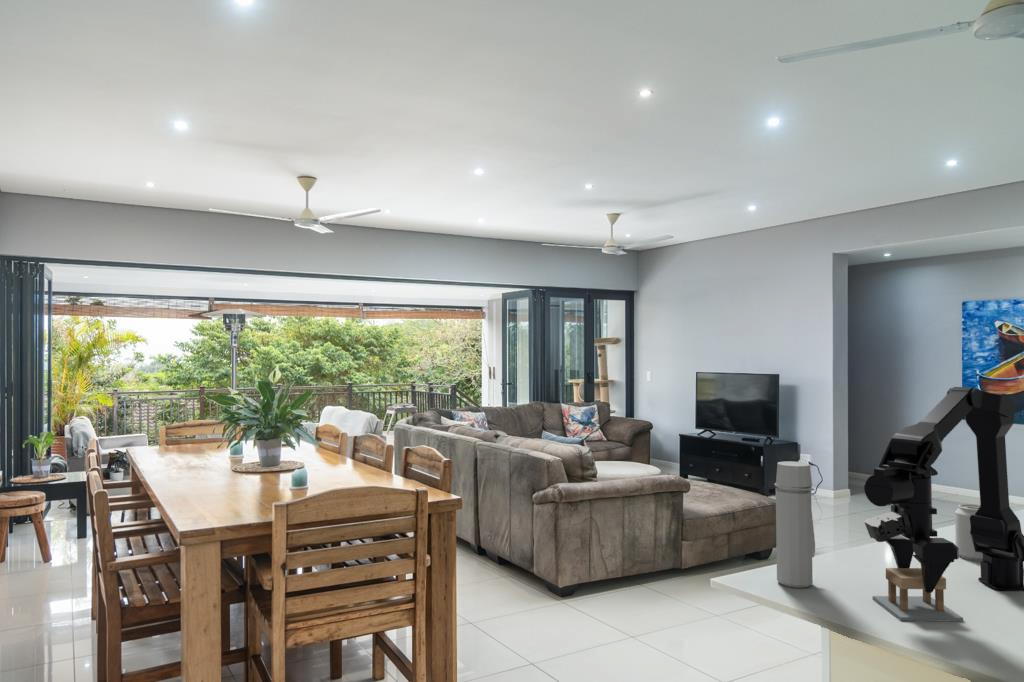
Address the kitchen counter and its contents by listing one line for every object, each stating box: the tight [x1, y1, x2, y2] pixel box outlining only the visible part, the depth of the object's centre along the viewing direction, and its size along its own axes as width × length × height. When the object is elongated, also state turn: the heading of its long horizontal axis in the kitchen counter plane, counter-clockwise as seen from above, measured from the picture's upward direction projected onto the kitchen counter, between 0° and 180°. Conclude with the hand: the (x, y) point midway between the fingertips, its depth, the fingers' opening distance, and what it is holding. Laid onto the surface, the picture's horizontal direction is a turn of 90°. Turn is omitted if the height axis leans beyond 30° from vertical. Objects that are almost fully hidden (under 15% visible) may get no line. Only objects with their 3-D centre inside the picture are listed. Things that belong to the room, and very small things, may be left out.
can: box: [954, 503, 983, 562], centre depth 166 cm, size 8×8×12 cm
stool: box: [885, 567, 947, 612], centre depth 133 cm, size 6×8×6 cm
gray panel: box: [872, 595, 964, 622], centre depth 133 cm, size 11×11×1 cm
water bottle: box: [773, 460, 816, 589], centre depth 149 cm, size 9×8×25 cm
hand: (915, 583), depth 133 cm, fingers open, 9 cm apart
